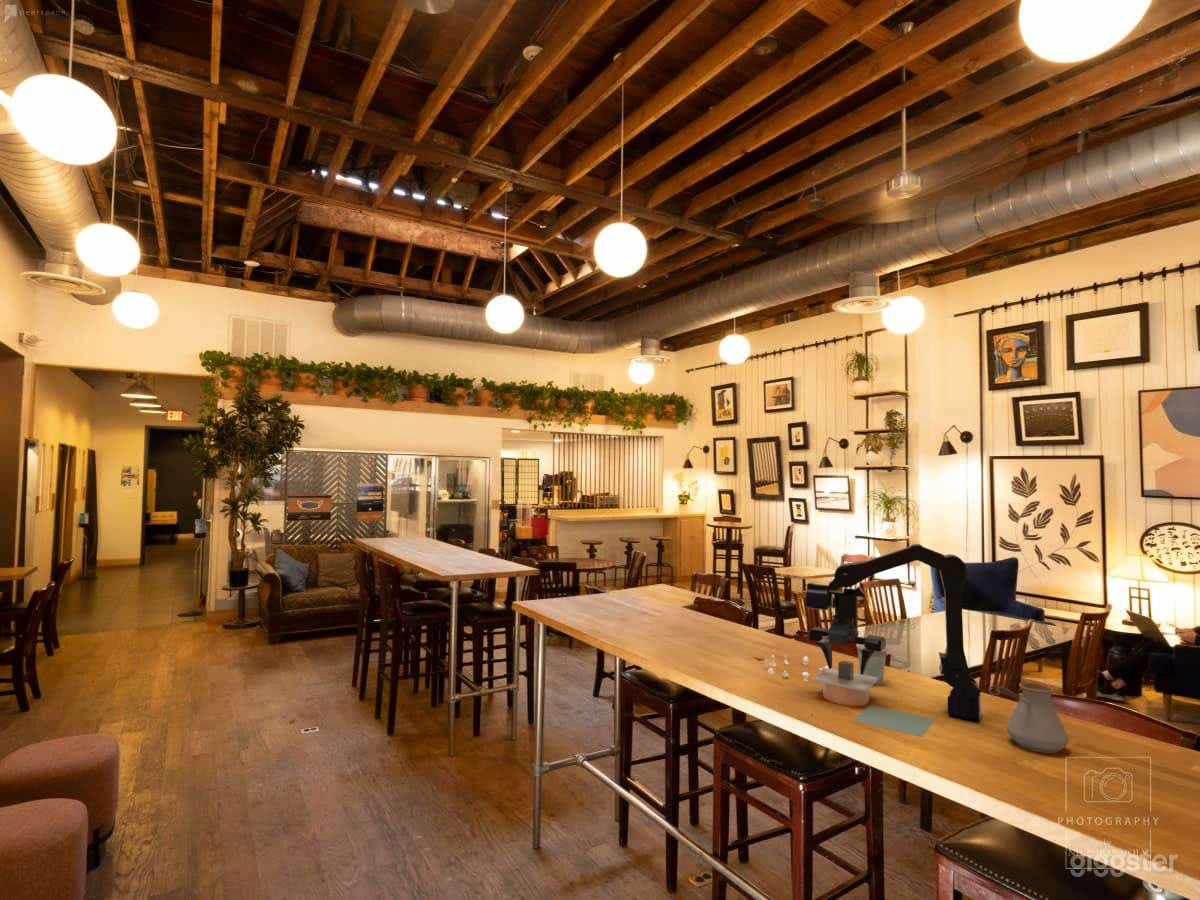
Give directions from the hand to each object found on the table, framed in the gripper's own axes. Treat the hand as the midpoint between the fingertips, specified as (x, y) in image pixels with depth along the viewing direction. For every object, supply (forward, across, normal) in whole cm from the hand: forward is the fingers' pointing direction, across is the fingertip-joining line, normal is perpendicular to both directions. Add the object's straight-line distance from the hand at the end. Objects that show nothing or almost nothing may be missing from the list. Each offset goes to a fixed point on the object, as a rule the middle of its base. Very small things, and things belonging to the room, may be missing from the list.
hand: (846, 671), depth 171 cm
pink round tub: (+8, 0, 0) cm, 8 cm away
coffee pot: (+8, +40, -8) cm, 42 cm away
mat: (+8, +14, -9) cm, 18 cm away
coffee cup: (+8, +1, +22) cm, 23 cm away
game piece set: (+8, -20, +18) cm, 28 cm away
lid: (+2, 0, 0) cm, 2 cm away
